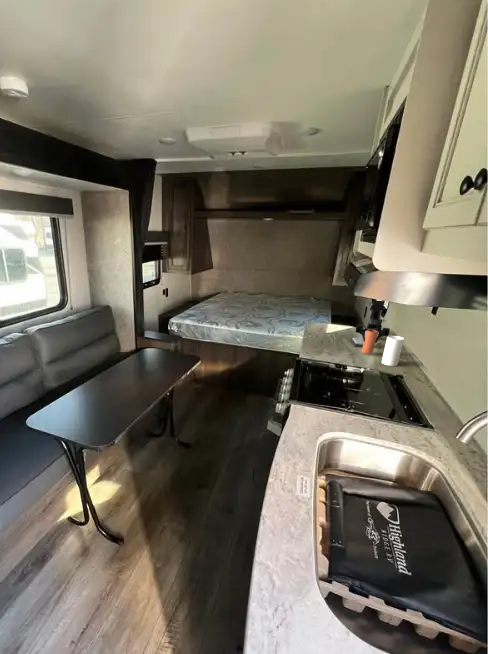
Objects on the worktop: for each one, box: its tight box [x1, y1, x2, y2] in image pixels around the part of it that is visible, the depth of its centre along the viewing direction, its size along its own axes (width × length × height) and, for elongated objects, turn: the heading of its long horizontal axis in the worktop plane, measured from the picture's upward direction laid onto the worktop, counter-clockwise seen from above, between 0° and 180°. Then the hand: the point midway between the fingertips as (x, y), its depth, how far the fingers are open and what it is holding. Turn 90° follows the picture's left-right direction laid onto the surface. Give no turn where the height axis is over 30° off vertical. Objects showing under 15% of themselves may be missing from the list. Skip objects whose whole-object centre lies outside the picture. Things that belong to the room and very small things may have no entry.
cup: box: [381, 335, 405, 367], centre depth 192 cm, size 8×8×16 cm
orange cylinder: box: [361, 329, 378, 355], centre depth 207 cm, size 6×6×14 cm
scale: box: [350, 337, 364, 348], centre depth 229 cm, size 15×11×3 cm
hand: (369, 341), depth 205 cm, fingers closed on orange cylinder, 6 cm apart
